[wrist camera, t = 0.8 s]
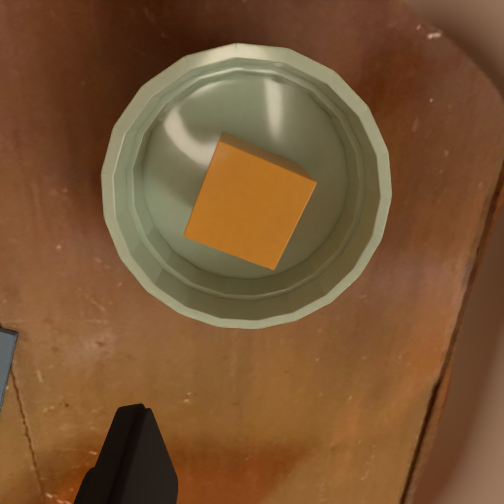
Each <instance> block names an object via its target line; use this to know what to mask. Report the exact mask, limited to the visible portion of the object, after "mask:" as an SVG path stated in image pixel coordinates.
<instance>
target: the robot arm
mask: <svg viewBox="0 0 504 504" xmlns="http://www.w3.org/2000/svg"><path fill="white" fill-rule="evenodd" d="M177 495H178V479H177V475H176V473H175V470H174V467H173V465H172V462H171V459H170V457H169V454H168V451H167V449H166V446H165V444H164V441H163V438H162V436H161V433H160V430H159V428H158V425H157V423H156V420H155V417H154V415H153V412H152V410H151V409H150V408H146V409H145V407H144V405H143V404H134V405H128V406H122V407H119V408H118V410H117V411H116V414H115V416H114V419H113V421H112V424H111V427H110V429H109V432H108V434H107V437H106V439H105V442H104V445H103V447H102V450H101V452H100V455H99V458H98V460H97V463H96V465H95V467H93V468H91V469H90V470H89V471H88V472H87V473H86V475H85V477H84V479H83V481H82V484H81V486H80V489H79V491H78V494H77V496H76V498H75V501H74V503H73V504H176V501H177Z"/></svg>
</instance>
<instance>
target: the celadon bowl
mask: <svg viewBox="0 0 504 504" xmlns="http://www.w3.org/2000/svg"><path fill="white" fill-rule="evenodd" d="M222 132H226V133H228V134H230V135H232V136H235V137H237V138H239V139H242V140H244V141H246V142H249V143H251V144H253V145H255V146H258V147H260V148H262V149H265V150H267V151H269V152H271V153H274V154H276V155H278V156H281V157H283V158H285V159H288V160H290V161H292V162H294V163H297V164H299V165H301V166H302V167H303V168H304V169H305V171H306V172H307V173H308V174H309V175H310V176H311V177H312V178H313V179H314V180H315V181H316V182H317V184H316V186H315V188H314V190H313V192H312V194H311V196H310V199H309V201H308V203H307V205H306V207H305V209H304V211H303V213H302V215H301V217H300V219H299V221H298V223H297V225H296V227H295V229H294V231H293V233H292V235H291V237H290V239H289V242H288V244H287V246H286V248H285V250H284V252H283V254H282V256H281V258H280V260H279V262H278V264H277V266H276V268H275V270H271V269H268V268H266V267H263V266H260V265H258V264H255V263H252V262H250V261H247V260H244V259H242V258H239V257H236V256H234V255H231V254H228V253H225V252H223V251H220V250H217V249H215V248H212V247H209V246H207V245H204V244H201V243H199V242H196V241H193V240H191V239H188V238H185V237H183V234H184V231H185V228H186V226H187V223H188V220H189V218H190V215H191V212H192V210H193V207H194V204H195V202H196V199H197V196H198V194H199V191H200V188H201V186H202V183H203V180H204V178H205V175H206V172H207V170H208V167H209V164H210V162H211V159H212V156H213V154H214V151H215V148H216V146H217V143H218V140H219V138H220V136H221V134H222ZM101 184H102V199H103V213H104V218H105V219H104V220H105V223H106V225H107V228H108V230H109V232H110V235H111V237H112V240H113V242H114V245H115V247H116V250H117V252H118V255H119V257H120V258H121V261H122V262H123V263H124V264H125V265H126V267H127V268H128V269H129V270H130V272H131V273H132V274H133V275H134V276H135V278H136V279H137V280H138V281H139V282H140V284H141V285H142V286H143V287H144V289H145V290H146V291H147V292H148V293H150V294H151V295H153V296H154V297H156V298H157V299H159V300H160V301H162V302H163V303H165V304H166V305H168V306H169V307H170V308H172V309H173V310H175V311H176V312H178V313H179V314H181V315H184V316H187V317H190V318H193V319H196V320H199V321H202V322H205V323H208V324H211V325H214V326H219V327H228V328H247V329H257V328H258V329H260V328H264V327H269V326H274V325H278V324H283V323H288V322H292V321H296V320H298V319H300V318H302V317H304V316H306V315H308V314H310V313H312V312H314V311H316V310H317V309H319V308H321V307H323V306H325V305H327V304H329V303H331V302H332V301H333V300H334V299H336V298H337V297H338V296H339V295H340V294H341V293H342V292H343V291H344V290H345V289H346V288H347V287H348V286H349V285H350V284H351V283H353V282H354V281H355V280H356V279H357V278H358V277H359V276H360V275H361V273H362V272H363V270H364V268H365V267H366V265H367V263H368V261H369V260H370V258H371V256H372V255H373V253H374V251H375V250H376V248H377V246H378V244H379V243H380V241H381V239H382V237H383V232H384V228H385V224H386V220H387V215H388V211H389V207H390V202H391V198H392V189H391V177H390V166H389V154H388V150H387V147H386V145H385V143H384V140H383V138H382V136H381V133H380V131H379V129H378V127H377V124H376V122H375V120H374V118H373V115H372V113H371V111H370V109H369V108H368V106H367V105H366V103H365V102H364V101H363V100H362V99H361V98H360V97H359V96H358V95H357V94H356V93H355V92H354V91H353V90H352V89H351V88H350V87H349V86H348V84H347V83H346V82H345V81H344V80H343V79H342V78H341V77H340V76H339V75H338V74H337V73H336V72H334V70H332V69H330V68H328V67H326V66H324V65H322V64H320V63H318V62H316V61H314V60H312V59H310V58H308V57H306V56H304V55H302V54H300V53H298V52H296V51H293V50H291V49H289V48H284V47H274V46H265V45H255V44H245V43H236V44H235V43H232V44H228V45H224V46H220V47H216V48H213V49H209V50H205V51H201V52H197V53H193V54H190V55H186V56H185V57H182V58H181V59H179V60H178V61H176V62H175V63H173V64H172V65H171V66H169V67H168V68H166V69H165V70H163V71H162V72H161V73H159V74H158V75H156V76H155V77H153V78H152V79H151V80H149V81H148V82H146V83H145V84H143V86H141V87H140V89H139V90H138V92H137V93H136V95H135V96H134V97H133V99H132V100H131V102H130V103H129V105H128V106H127V107H126V109H125V110H124V112H123V113H122V115H121V116H120V118H119V119H118V120H117V122H116V123H115V125H114V127H113V129H112V133H111V137H110V140H109V144H108V148H107V151H106V155H105V159H104V163H103V166H102V170H101Z"/></svg>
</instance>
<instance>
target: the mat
mask: <svg viewBox="0 0 504 504" xmlns="http://www.w3.org/2000/svg"><path fill="white" fill-rule="evenodd" d="M17 334H18V333H16V332H13V331H9V330H6V329H3V328H0V410H1V406H2V401H3V397H4V393H5V388H6V384H7V379H8V375H9V370H10V366H11V361H12V357H13V352H14V348H15V343H16V339H17Z"/></svg>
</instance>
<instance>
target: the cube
mask: <svg viewBox="0 0 504 504" xmlns="http://www.w3.org/2000/svg"><path fill="white" fill-rule="evenodd" d="M316 184H317V182H316V181H315V180H314V179H313V178H312V177H311V176H310V175H309V174H308V173H307V172H306V171H305V169H304V168H303V167H302V166H301V165H299V164H297V163H294V162H292V161H290V160H288V159H285V158H283V157H281V156H278V155H276V154H274V153H271V152H269V151H267V150H265V149H262V148H260V147H258V146H255V145H253V144H251V143H249V142H246V141H244V140H242V139H239V138H237V137H235V136H232V135H230V134H228V133H226V132H222V134H221V136H220V138H219V140H218V143H217V146H216V148H215V151H214V154H213V156H212V159H211V162H210V164H209V167H208V170H207V172H206V175H205V178H204V180H203V183H202V186H201V188H200V191H199V194H198V196H197V199H196V202H195V204H194V207H193V210H192V212H191V215H190V218H189V220H188V223H187V226H186V228H185V231H184V234H183V237H185V238H188V239H191V240H193V241H196V242H199V243H201V244H204V245H207V246H209V247H212V248H215V249H217V250H220V251H223V252H225V253H228V254H231V255H234V256H236V257H239V258H242V259H244V260H247V261H250V262H252V263H255V264H258V265H260V266H263V267H266V268H268V269H271V270H275V268H276V266H277V264H278V262H279V260H280V258H281V256H282V254H283V252H284V250H285V248H286V246H287V244H288V242H289V239H290V237H291V235H292V233H293V231H294V229H295V227H296V225H297V223H298V221H299V219H300V217H301V215H302V213H303V211H304V209H305V207H306V205H307V203H308V201H309V199H310V196H311V194H312V192H313V190H314V188H315V186H316Z"/></svg>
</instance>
